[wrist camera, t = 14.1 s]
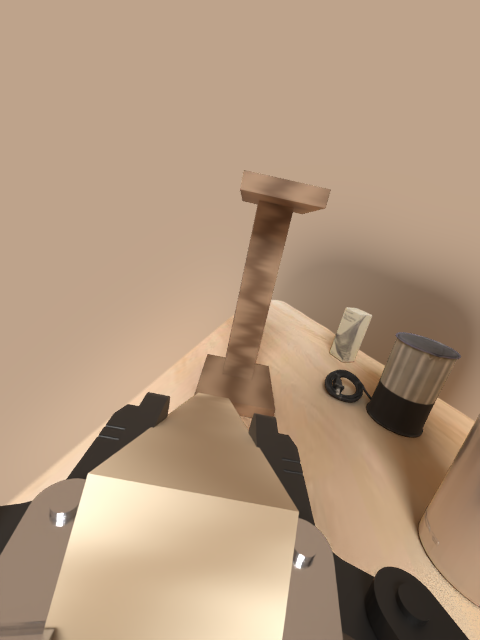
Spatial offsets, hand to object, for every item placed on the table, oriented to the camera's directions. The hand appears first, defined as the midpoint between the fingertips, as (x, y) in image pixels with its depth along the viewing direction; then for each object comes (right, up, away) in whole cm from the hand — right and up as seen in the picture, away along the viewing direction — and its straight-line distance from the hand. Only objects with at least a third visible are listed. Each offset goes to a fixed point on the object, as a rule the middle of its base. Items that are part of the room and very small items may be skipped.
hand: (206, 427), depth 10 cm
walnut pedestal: (0, -8, +39) cm, 40 cm away
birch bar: (-1, -4, +5) cm, 7 cm away
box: (+27, -6, +63) cm, 69 cm away
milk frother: (+25, -13, +42) cm, 51 cm away
